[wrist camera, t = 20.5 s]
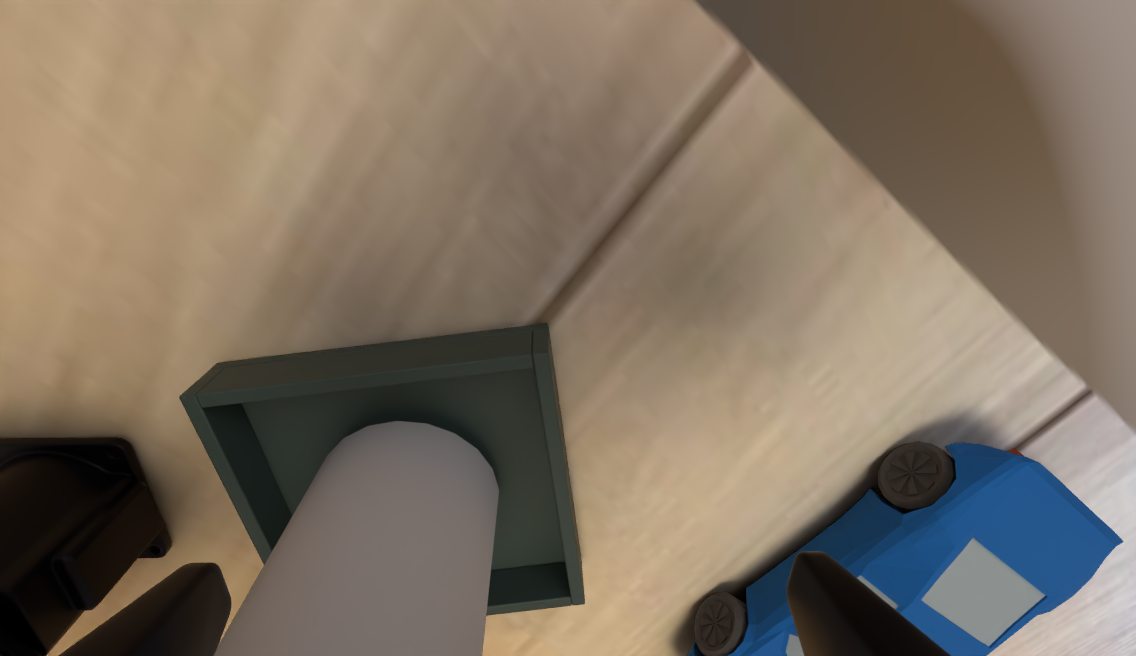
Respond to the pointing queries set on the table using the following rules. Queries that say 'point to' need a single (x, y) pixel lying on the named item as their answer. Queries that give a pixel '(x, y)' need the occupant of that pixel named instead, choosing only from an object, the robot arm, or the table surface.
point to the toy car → (936, 554)
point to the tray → (411, 394)
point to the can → (379, 553)
